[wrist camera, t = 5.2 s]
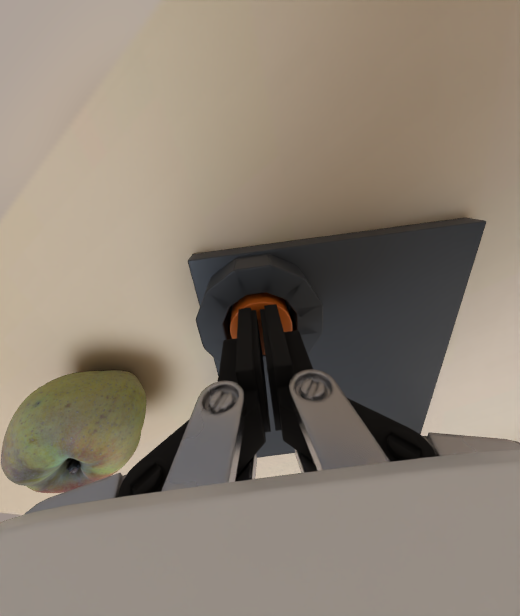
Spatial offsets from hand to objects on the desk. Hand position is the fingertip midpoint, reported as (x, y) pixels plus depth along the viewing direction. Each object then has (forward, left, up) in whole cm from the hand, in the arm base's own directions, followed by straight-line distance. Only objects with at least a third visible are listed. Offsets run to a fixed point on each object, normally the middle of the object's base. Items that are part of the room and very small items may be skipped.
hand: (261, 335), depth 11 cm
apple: (+5, -11, -4) cm, 13 cm away
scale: (+5, +4, -3) cm, 7 cm away
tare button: (0, 0, -2) cm, 2 cm away
